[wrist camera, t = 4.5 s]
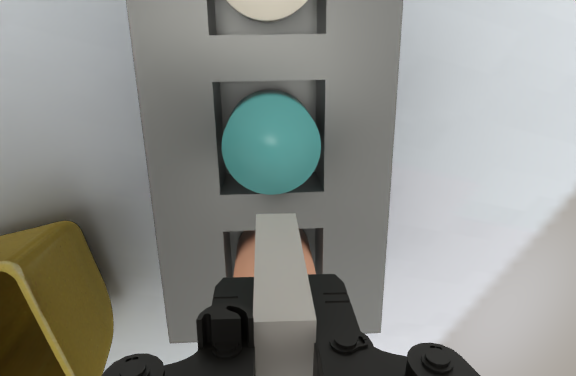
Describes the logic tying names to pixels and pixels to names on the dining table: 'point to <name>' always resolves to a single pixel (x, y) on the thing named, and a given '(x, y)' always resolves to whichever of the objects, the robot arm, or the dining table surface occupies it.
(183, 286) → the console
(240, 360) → the robot arm
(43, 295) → the flower pot
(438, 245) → the dining table surface
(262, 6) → the cream button
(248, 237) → the terracotta button
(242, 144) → the teal button
